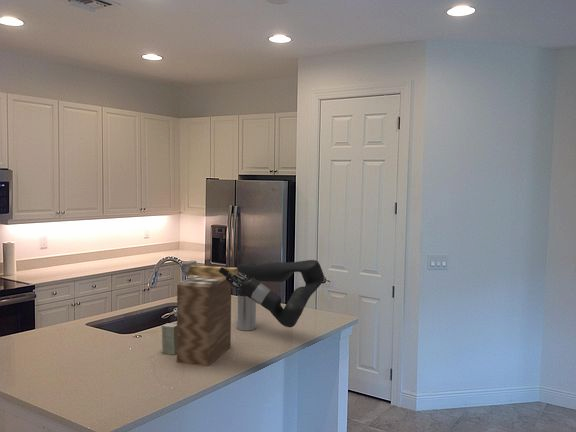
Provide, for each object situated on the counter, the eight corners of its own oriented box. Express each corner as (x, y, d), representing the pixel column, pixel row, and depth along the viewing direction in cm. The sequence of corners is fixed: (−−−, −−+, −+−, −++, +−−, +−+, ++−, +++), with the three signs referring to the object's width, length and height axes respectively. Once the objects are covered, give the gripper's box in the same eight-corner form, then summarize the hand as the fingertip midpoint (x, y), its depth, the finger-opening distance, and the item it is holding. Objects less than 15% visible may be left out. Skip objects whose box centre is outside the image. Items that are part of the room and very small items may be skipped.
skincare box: (179, 351, 223) (179, 324, 222) (174, 355, 219) (174, 327, 218) (167, 349, 225) (167, 322, 224) (161, 353, 221) (161, 325, 220)
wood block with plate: (240, 275, 213) (240, 263, 212) (232, 279, 204) (232, 266, 204) (191, 272, 218) (191, 260, 218) (181, 275, 210) (181, 263, 209)
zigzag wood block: (230, 347, 230) (231, 274, 228) (208, 365, 207) (209, 285, 205) (201, 344, 234) (202, 272, 231) (176, 362, 211) (177, 282, 208)
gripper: (266, 280, 212) (232, 258, 216) (255, 287, 199) (219, 263, 202) (257, 295, 214) (224, 273, 217) (246, 303, 200) (210, 279, 204)
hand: (222, 268), depth 210 cm, fingers closed on wood block with plate, 3 cm apart
